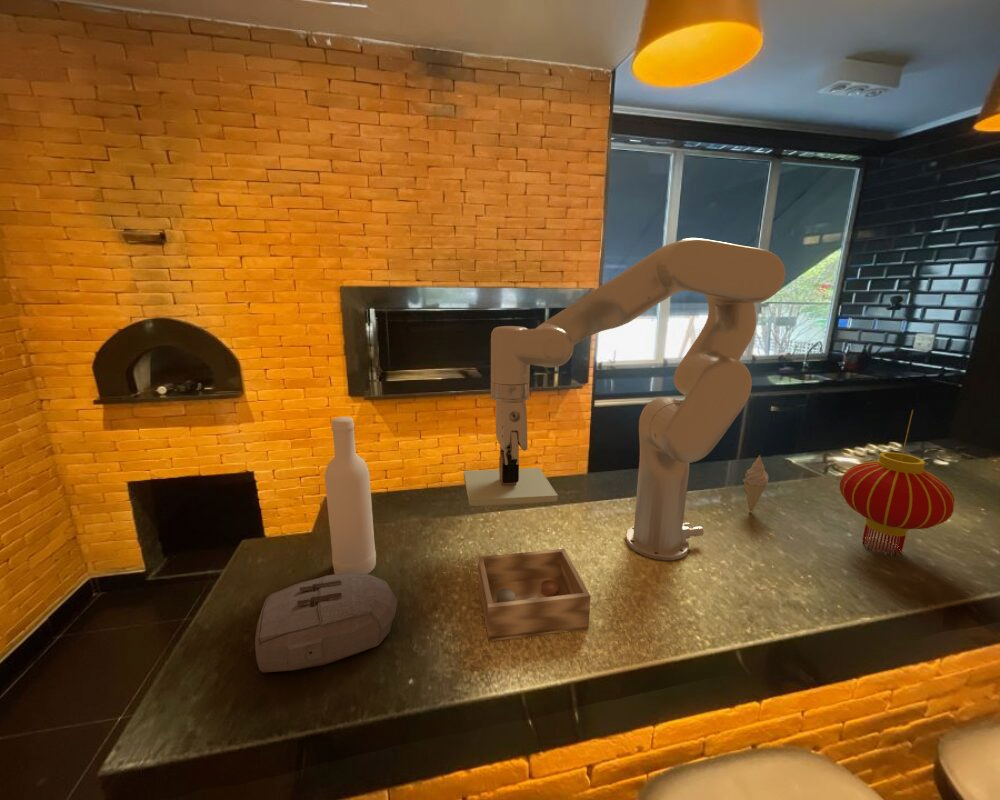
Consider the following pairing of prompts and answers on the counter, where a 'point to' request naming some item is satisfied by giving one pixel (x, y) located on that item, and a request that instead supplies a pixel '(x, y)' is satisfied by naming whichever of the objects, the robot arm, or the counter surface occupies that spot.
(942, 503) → the lantern
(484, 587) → the storage box
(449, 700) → the counter surface
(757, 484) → the ice cream cone
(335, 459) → the bottle
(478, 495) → the lid
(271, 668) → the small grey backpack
